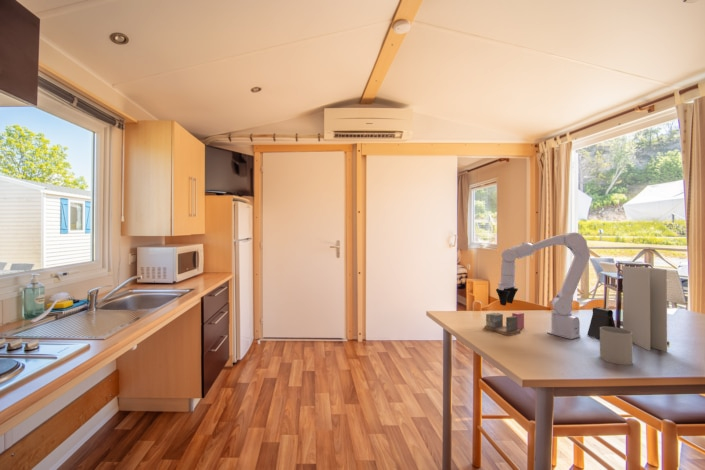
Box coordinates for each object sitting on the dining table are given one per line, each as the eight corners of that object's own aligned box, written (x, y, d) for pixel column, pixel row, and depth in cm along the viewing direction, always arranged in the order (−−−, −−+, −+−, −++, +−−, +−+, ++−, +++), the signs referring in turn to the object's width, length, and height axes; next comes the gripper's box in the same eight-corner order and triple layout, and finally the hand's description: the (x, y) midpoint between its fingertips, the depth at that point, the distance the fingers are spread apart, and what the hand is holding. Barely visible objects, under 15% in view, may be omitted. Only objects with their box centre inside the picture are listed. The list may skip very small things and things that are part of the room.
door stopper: (601, 340, 121) (601, 310, 121) (587, 335, 127) (587, 307, 127) (618, 338, 123) (618, 309, 123) (603, 333, 129) (603, 306, 129)
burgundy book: (524, 328, 137) (524, 313, 137) (517, 329, 134) (517, 314, 134) (518, 326, 139) (518, 311, 139) (512, 328, 136) (512, 313, 136)
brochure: (667, 351, 109) (666, 269, 109) (649, 350, 110) (649, 269, 110) (638, 339, 122) (638, 266, 123) (622, 338, 124) (622, 266, 124)
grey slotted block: (520, 333, 129) (520, 316, 129) (509, 335, 125) (509, 318, 126) (495, 325, 140) (495, 310, 140) (484, 328, 136) (484, 312, 136)
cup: (599, 352, 107) (599, 325, 107) (630, 358, 102) (630, 329, 102) (600, 360, 101) (600, 330, 101) (633, 366, 96) (633, 335, 96)
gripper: (505, 272, 146) (503, 300, 146) (492, 274, 136) (490, 304, 136) (520, 274, 140) (519, 303, 140) (508, 276, 131) (507, 307, 131)
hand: (506, 304), depth 138 cm, fingers open, 7 cm apart
